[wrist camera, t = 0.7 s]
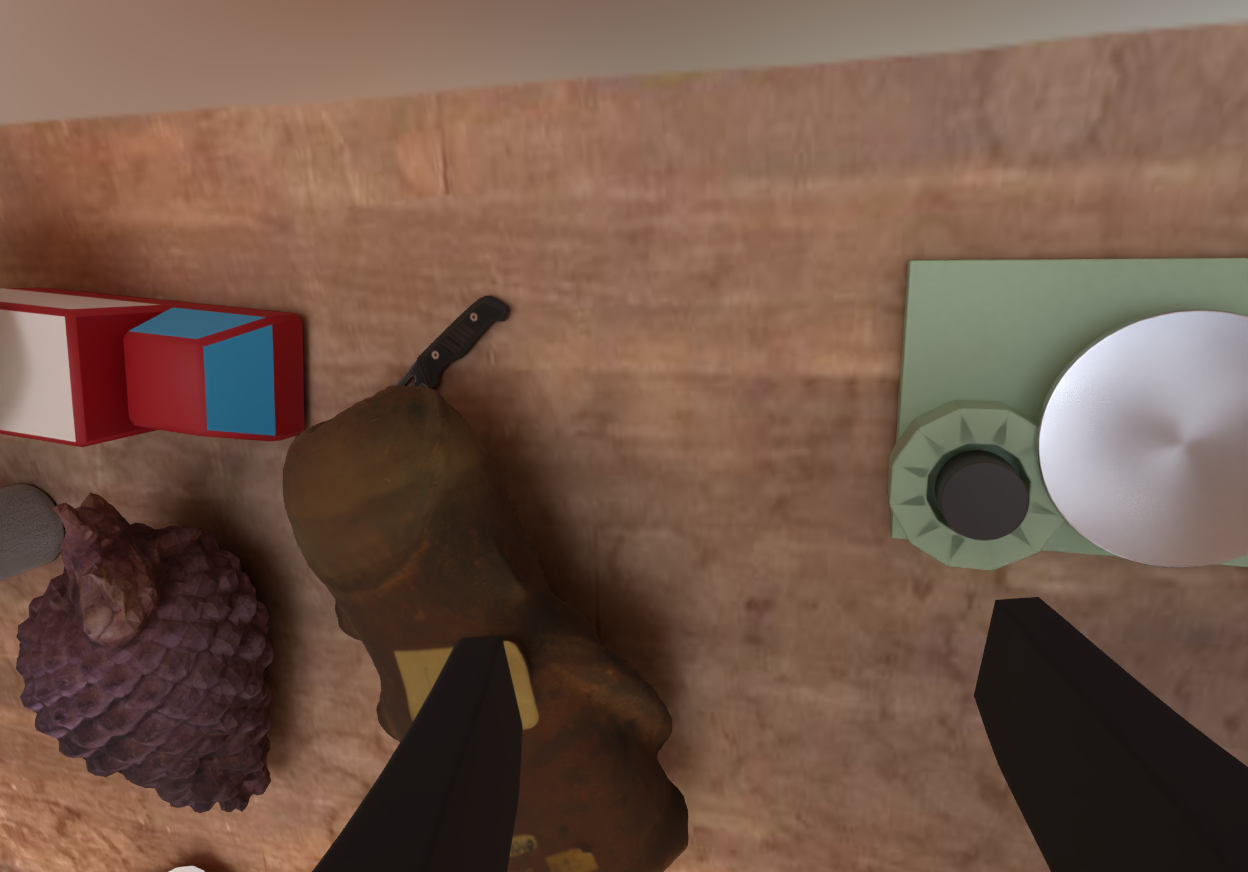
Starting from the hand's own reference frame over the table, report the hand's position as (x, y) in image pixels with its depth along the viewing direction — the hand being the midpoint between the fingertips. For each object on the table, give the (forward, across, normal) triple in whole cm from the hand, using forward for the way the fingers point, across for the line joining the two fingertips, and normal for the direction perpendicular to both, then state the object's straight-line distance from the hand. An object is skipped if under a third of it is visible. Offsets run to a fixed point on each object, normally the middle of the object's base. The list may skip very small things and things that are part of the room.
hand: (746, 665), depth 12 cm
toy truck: (+26, +23, +6) cm, 36 cm away
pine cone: (+21, +23, +18) cm, 37 cm away
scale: (+16, -14, +6) cm, 22 cm away
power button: (+13, -10, +7) cm, 18 cm away
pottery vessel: (+18, +7, +15) cm, 25 cm away
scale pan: (+12, -15, +5) cm, 20 cm away
